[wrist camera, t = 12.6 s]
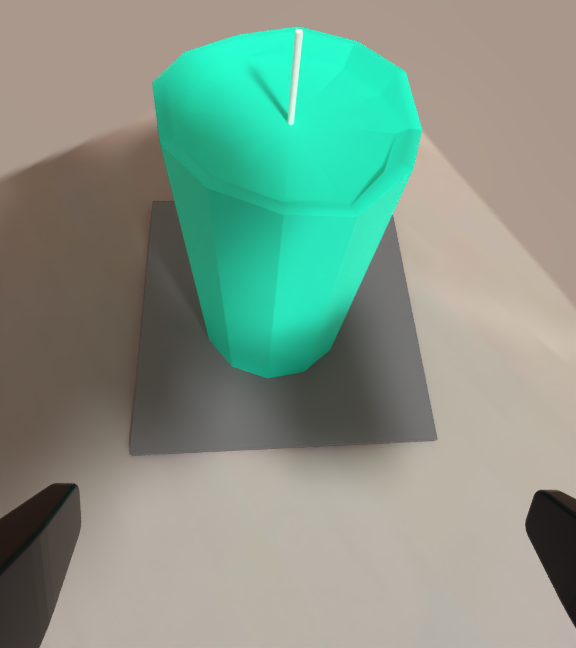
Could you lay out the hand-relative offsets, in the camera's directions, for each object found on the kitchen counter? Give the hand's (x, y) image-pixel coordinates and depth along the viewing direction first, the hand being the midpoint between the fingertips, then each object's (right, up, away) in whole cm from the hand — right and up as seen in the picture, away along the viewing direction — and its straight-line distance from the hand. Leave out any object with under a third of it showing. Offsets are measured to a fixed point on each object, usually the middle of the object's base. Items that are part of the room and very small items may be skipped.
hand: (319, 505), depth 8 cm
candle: (-1, +4, +11) cm, 12 cm away
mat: (-1, +4, +11) cm, 12 cm away
